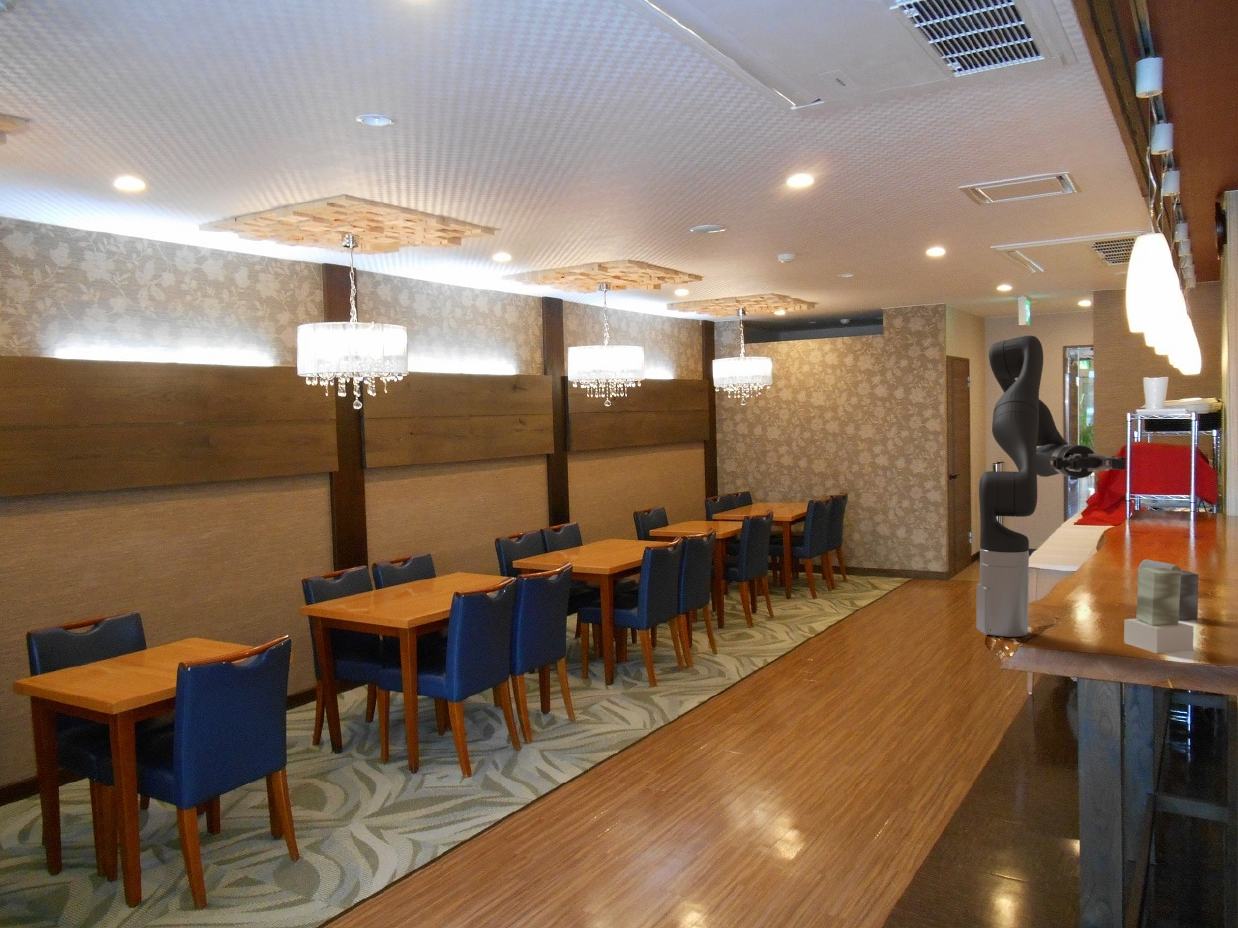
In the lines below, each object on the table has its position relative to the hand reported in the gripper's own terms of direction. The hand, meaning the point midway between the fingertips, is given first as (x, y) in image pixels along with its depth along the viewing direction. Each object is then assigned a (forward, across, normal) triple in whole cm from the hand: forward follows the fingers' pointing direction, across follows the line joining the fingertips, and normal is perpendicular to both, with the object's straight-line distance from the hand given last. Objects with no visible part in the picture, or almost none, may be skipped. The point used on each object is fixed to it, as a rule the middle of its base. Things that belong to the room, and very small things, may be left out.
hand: (1099, 464), depth 188 cm
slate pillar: (-6, +19, +34) cm, 39 cm away
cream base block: (+20, +4, +34) cm, 40 cm away
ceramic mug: (-39, +28, +34) cm, 59 cm away
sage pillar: (+21, +4, +29) cm, 36 cm away
